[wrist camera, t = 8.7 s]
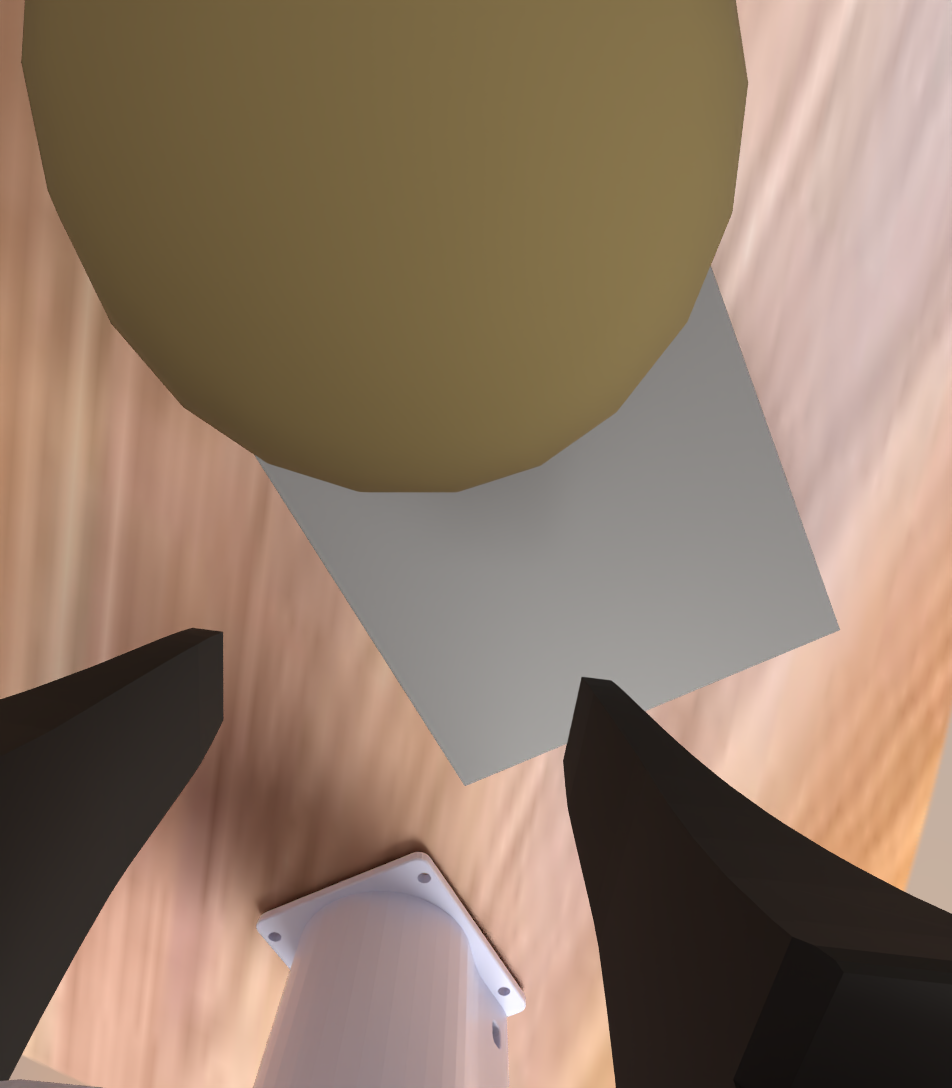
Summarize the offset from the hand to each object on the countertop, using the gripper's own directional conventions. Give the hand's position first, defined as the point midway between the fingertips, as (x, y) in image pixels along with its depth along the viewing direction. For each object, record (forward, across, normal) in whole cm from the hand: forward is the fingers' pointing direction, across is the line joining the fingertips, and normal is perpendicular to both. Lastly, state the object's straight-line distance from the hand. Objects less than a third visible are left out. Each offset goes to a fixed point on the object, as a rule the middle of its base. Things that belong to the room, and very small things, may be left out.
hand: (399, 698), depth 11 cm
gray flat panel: (+8, -2, -4) cm, 9 cm away
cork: (+5, 0, -8) cm, 9 cm away
